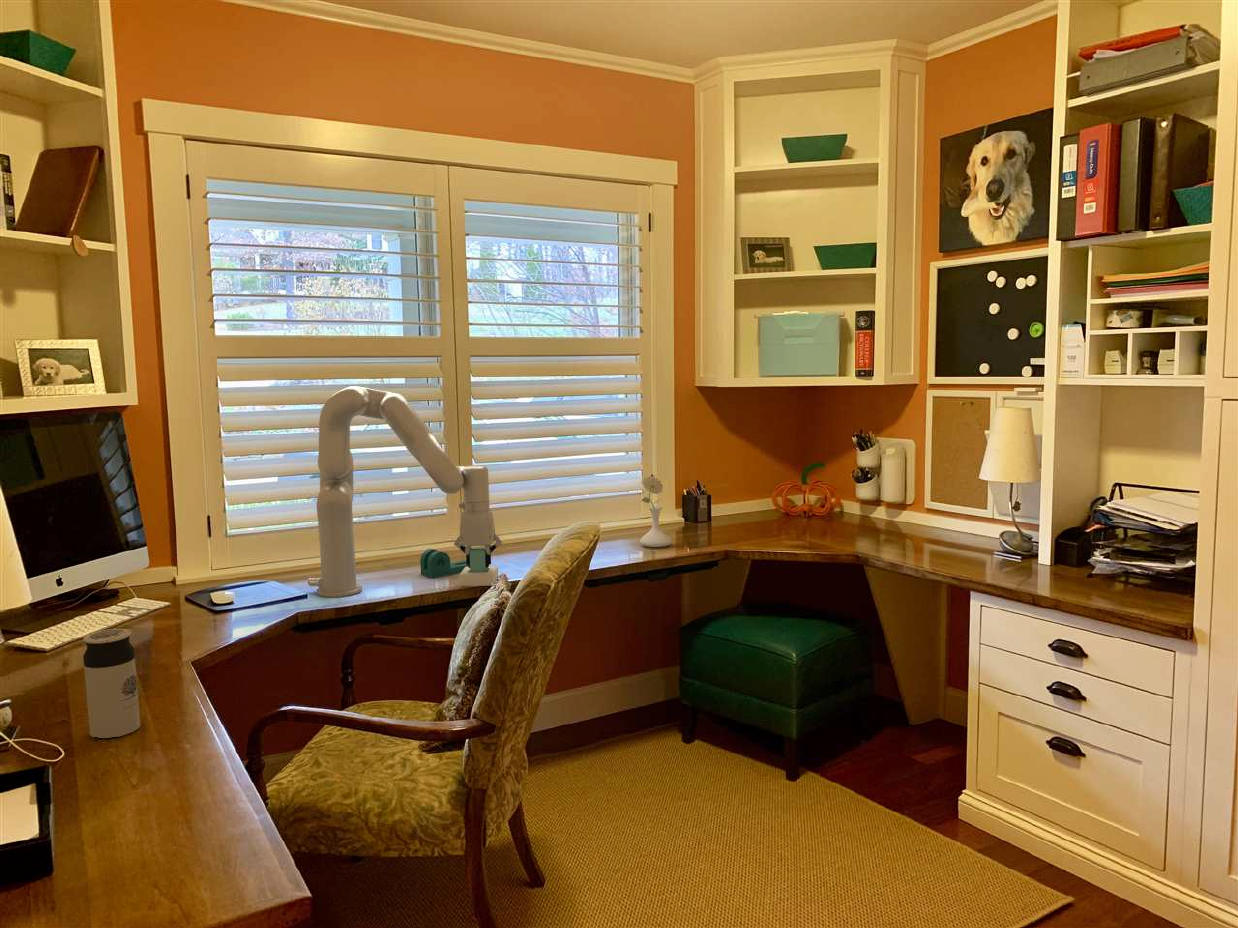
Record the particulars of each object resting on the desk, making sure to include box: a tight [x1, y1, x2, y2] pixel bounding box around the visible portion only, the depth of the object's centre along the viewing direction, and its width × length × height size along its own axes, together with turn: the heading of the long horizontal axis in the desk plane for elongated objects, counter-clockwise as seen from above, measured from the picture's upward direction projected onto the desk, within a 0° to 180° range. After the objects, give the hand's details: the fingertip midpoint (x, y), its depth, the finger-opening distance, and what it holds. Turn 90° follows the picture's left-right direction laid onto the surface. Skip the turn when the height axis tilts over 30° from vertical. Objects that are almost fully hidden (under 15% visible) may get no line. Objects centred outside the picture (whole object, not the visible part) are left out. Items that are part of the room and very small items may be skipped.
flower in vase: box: [639, 475, 673, 548], centre depth 317 cm, size 13×11×25 cm
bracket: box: [419, 548, 468, 579], centre depth 284 cm, size 18×7×8 cm, turn 130°
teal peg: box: [470, 546, 488, 573], centre depth 270 cm, size 4×4×10 cm
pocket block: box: [459, 565, 499, 587], centre depth 270 cm, size 10×10×4 cm
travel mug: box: [82, 628, 141, 739], centre depth 162 cm, size 8×8×18 cm
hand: (478, 566), depth 270 cm, fingers closed on teal peg, 4 cm apart
